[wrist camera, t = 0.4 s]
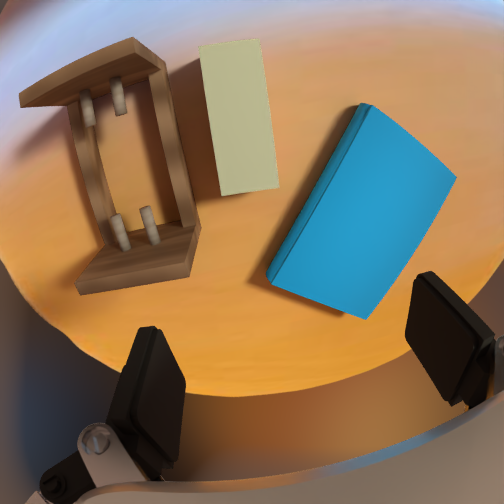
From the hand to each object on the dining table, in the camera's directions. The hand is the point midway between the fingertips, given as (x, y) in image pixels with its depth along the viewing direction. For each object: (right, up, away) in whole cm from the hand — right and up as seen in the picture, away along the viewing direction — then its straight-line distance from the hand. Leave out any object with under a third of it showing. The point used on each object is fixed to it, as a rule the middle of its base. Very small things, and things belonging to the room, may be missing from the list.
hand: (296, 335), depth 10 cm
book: (+13, +8, +27) cm, 31 cm away
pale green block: (-3, +18, +21) cm, 28 cm away
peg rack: (-15, +14, +21) cm, 30 cm away
